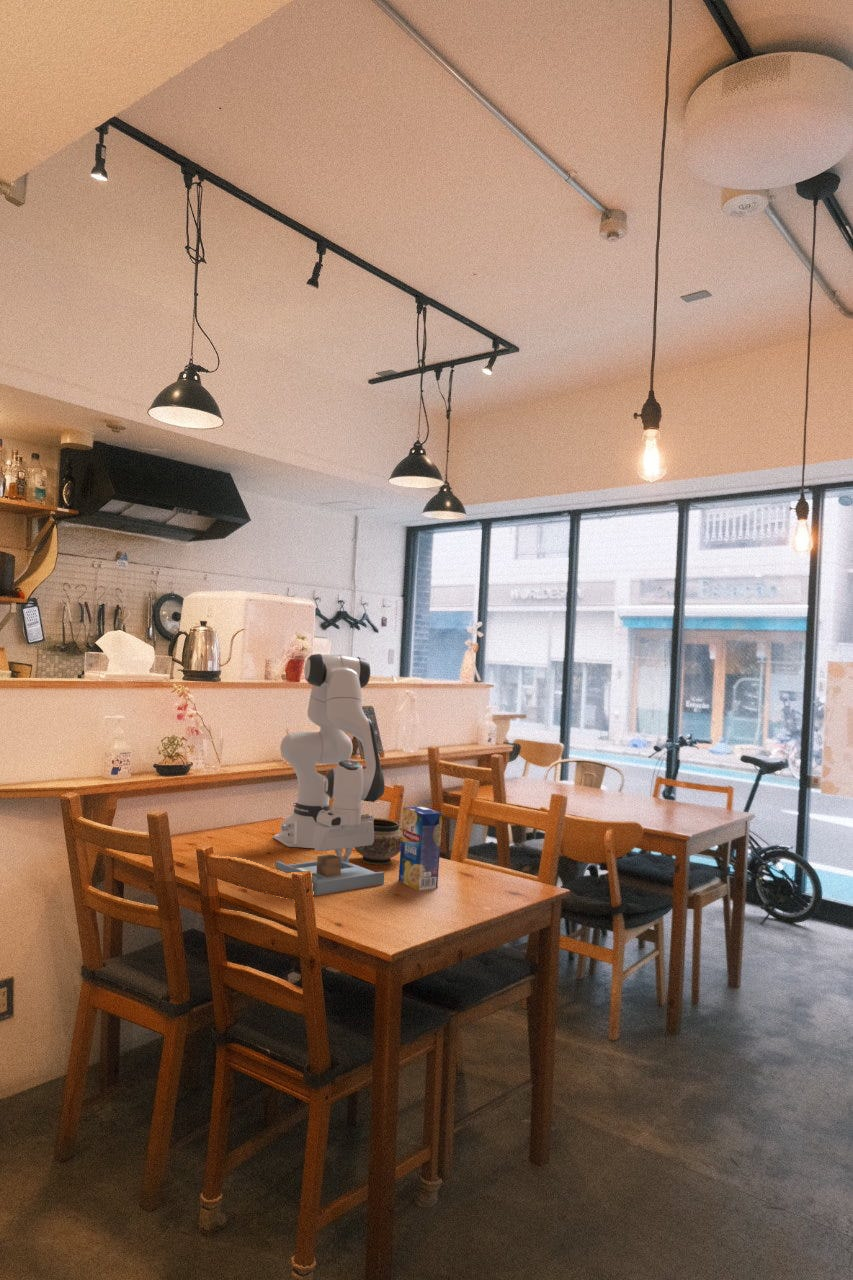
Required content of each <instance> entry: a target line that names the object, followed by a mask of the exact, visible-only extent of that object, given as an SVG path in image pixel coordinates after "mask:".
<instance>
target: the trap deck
mask: <svg viewBox="0 0 853 1280" xmlns="http://www.w3.org/2000/svg"><path fill="white" fill-rule="evenodd" d="M274 868H275V869H277V870H280V871H283V872H285V873H291V872H304V871H311V873H312V883H313V891H314V895H315V896H321V895H327V894H333V893H339V892H345V891H351V890H357V889H361V888H369V887H374V886H381V885H384V884H385V883H384V882H385V872H384V871H383V870H382V871H377V872H375V871H373V870H371V869H368V868H365V867H362V866H360V865H359V864H358V865H357V864H355V863H352V862H350V861H349V862H348V863H341V873H340V875H338V876H331V877H324V876H322V875H320V874H317V873H316V871H317V860H314V861H308V862H299V863H291V864H287V863H285V862H282V861H280V860H276V861H275V867H274ZM275 869H274V870H275ZM315 896H314V897H315Z"/></svg>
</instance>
